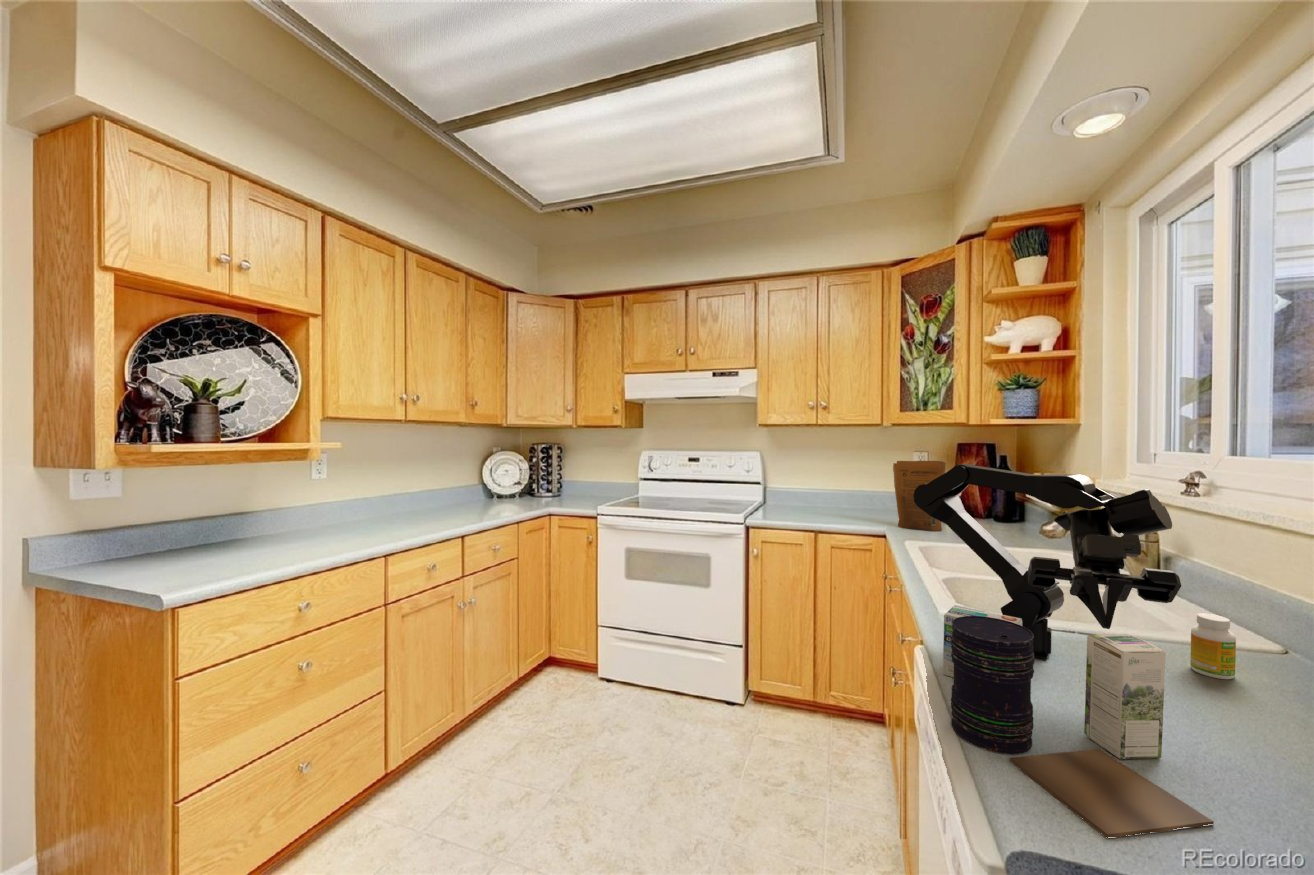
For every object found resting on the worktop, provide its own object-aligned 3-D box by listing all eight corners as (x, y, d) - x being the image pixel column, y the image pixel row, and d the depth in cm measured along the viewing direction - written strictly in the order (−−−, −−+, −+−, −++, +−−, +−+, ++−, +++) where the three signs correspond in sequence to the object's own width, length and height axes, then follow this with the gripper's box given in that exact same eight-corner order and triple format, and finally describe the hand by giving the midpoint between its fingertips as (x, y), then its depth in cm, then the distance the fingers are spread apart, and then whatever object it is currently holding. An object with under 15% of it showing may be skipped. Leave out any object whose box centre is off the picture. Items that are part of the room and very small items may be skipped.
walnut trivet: (1107, 839, 56) (1107, 834, 56) (1010, 761, 69) (1010, 757, 69) (1213, 825, 58) (1213, 821, 58) (1099, 752, 71) (1099, 748, 71)
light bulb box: (941, 675, 93) (942, 613, 92) (952, 662, 98) (952, 603, 97) (1015, 696, 85) (1015, 629, 85) (1022, 681, 90) (1023, 617, 90)
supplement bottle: (1225, 682, 89) (1227, 625, 89) (1183, 669, 94) (1184, 614, 94) (1241, 676, 91) (1242, 620, 91) (1199, 663, 96) (1200, 609, 96)
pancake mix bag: (944, 533, 208) (945, 461, 208) (892, 528, 219) (892, 459, 219) (947, 530, 214) (947, 460, 213) (895, 525, 225) (896, 458, 224)
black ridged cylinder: (937, 714, 80) (938, 615, 80) (1004, 714, 80) (1005, 615, 80) (974, 755, 70) (975, 642, 70) (1051, 756, 70) (1052, 643, 70)
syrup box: (1123, 734, 75) (1124, 631, 74) (1164, 760, 69) (1166, 649, 69) (1083, 735, 75) (1084, 632, 74) (1121, 762, 69) (1123, 650, 68)
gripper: (1031, 509, 91) (1039, 592, 82) (1179, 519, 82) (1206, 613, 73) (1024, 545, 98) (1031, 625, 89) (1159, 558, 89) (1182, 648, 80)
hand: (1106, 627), depth 83 cm, fingers closed
